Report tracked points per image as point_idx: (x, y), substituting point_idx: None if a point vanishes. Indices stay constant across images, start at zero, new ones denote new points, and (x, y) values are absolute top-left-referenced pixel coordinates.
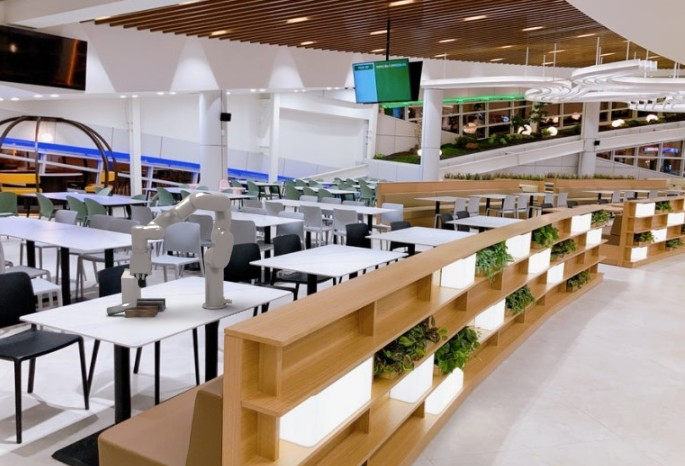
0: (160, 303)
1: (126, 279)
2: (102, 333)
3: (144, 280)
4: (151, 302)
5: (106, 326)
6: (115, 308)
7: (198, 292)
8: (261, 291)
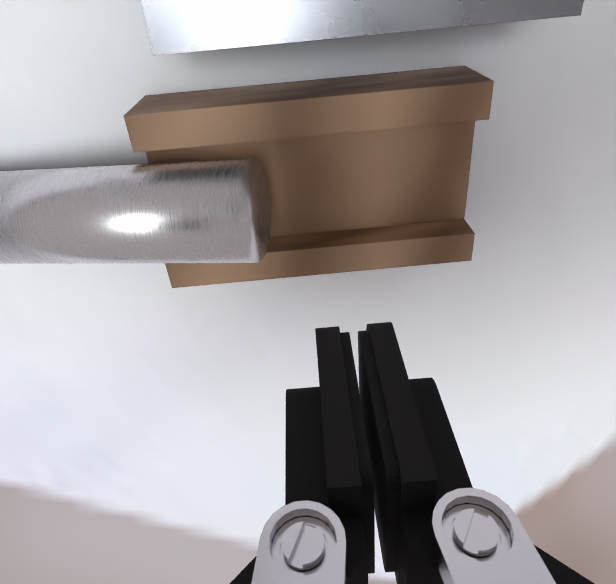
0: (543, 17)
1: None
2: (208, 519)
3: (461, 483)
4: (414, 30)
5: (161, 437)
6: (43, 262)
7: None
8: None
